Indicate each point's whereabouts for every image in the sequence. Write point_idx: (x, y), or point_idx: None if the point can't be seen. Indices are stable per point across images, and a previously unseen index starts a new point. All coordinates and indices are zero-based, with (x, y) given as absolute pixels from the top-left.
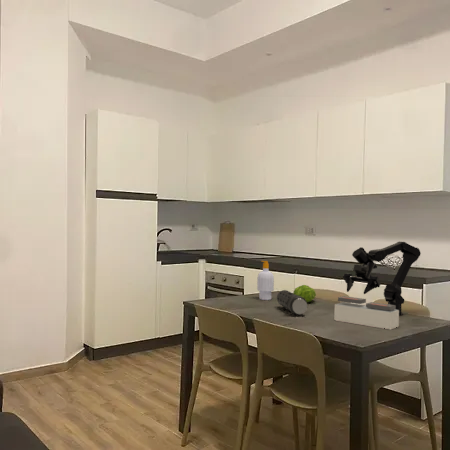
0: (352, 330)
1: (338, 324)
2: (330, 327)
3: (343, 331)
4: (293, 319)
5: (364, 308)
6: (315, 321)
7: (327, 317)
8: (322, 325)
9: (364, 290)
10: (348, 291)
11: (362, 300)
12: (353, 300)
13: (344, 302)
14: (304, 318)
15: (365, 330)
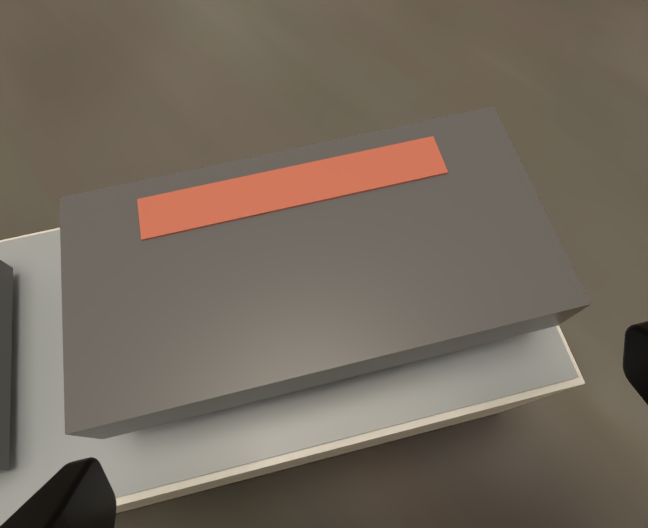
0: (83, 95)
1: (284, 148)
2: (246, 42)
3: (110, 33)
4: (596, 6)
5: (25, 236)
6: (465, 82)
7: (577, 275)
8: (325, 39)
9: (42, 514)
10: (645, 399)
11: (68, 282)
12: (200, 179)
13: (560, 377)
14: (604, 84)
15: (11, 167)
